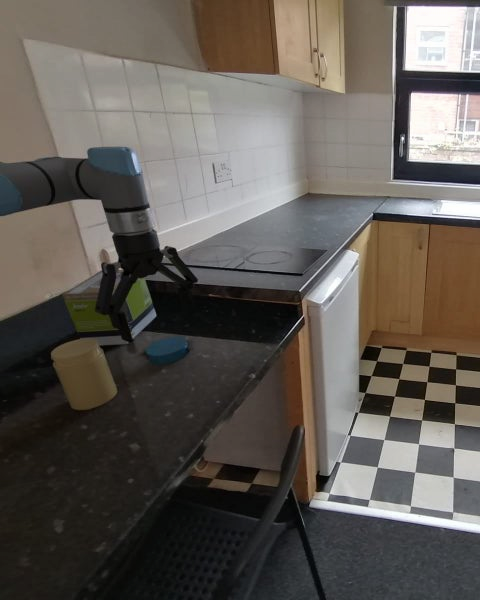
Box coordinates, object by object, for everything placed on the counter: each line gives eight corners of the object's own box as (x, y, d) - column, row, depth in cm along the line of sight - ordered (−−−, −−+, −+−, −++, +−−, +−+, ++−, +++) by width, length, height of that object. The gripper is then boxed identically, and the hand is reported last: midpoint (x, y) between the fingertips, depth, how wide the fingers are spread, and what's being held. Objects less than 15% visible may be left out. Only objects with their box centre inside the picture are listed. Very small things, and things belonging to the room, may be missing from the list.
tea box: (119, 322, 105) (101, 268, 99) (159, 320, 106) (144, 267, 100) (83, 352, 91) (59, 292, 85) (129, 350, 92) (109, 290, 86)
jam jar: (62, 413, 72) (39, 361, 68) (80, 389, 79) (60, 340, 74) (109, 406, 74) (89, 355, 70) (123, 383, 81) (106, 335, 76)
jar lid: (192, 343, 95) (190, 334, 94) (184, 361, 88) (182, 352, 87) (154, 348, 93) (152, 339, 92) (143, 367, 86) (140, 357, 85)
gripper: (70, 250, 67) (107, 358, 76) (202, 220, 87) (220, 309, 96) (49, 243, 70) (87, 347, 79) (181, 216, 90) (200, 302, 99)
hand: (160, 326), depth 87 cm, fingers open, 13 cm apart
